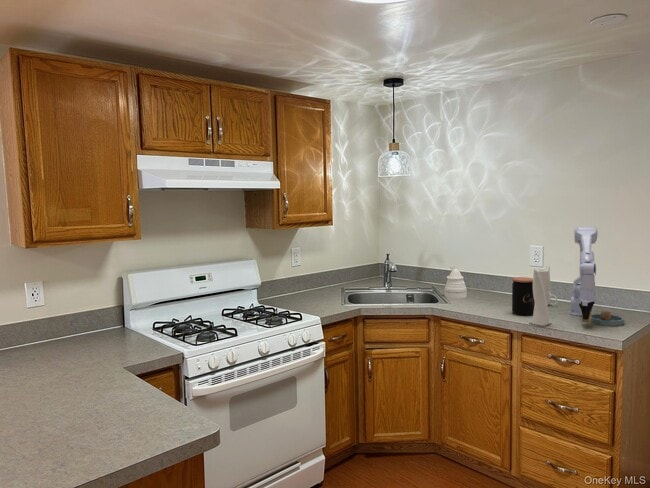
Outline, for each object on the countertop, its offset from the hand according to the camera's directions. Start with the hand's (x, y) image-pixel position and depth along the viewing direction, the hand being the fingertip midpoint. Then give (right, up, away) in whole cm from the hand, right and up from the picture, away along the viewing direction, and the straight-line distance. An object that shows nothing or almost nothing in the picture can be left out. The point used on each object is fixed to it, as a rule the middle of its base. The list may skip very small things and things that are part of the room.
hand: (586, 318), depth 229 cm
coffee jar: (-19, -2, +26) cm, 32 cm away
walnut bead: (+10, -3, +2) cm, 11 cm away
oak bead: (0, -2, 0) cm, 2 cm away
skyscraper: (-19, -4, +5) cm, 20 cm away
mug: (0, 0, +43) cm, 43 cm away
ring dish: (+12, -3, +5) cm, 13 cm away
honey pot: (-41, +2, +74) cm, 84 cm away
